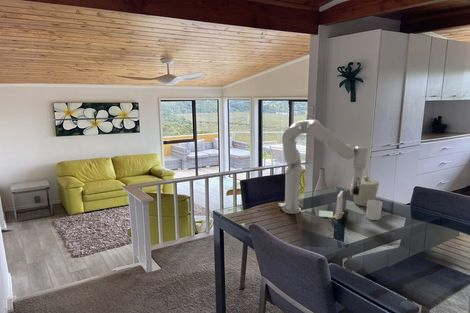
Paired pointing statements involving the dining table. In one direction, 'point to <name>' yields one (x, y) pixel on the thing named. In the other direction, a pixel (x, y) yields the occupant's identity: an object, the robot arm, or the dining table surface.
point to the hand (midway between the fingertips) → (355, 192)
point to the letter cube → (353, 189)
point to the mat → (325, 214)
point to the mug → (373, 209)
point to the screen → (339, 206)
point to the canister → (367, 191)
